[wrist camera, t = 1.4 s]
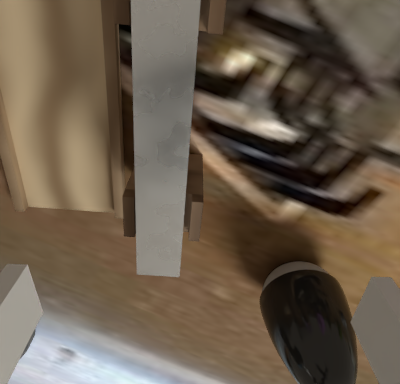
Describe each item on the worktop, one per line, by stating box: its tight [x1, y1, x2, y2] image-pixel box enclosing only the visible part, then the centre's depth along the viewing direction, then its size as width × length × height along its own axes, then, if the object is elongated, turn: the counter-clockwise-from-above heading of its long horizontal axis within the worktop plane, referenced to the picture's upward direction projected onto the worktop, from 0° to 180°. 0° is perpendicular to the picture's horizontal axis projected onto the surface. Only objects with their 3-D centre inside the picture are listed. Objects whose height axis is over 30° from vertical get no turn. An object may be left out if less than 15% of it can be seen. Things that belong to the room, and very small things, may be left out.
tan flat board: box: [0, 0, 125, 219], centre depth 28 cm, size 12×28×1 cm, turn 175°
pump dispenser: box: [260, 261, 358, 384], centre depth 35 cm, size 10×10×15 cm
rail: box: [131, 0, 201, 277], centre depth 21 cm, size 4×24×4 cm, turn 175°
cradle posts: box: [113, 0, 226, 241], centre depth 25 cm, size 6×20×9 cm, turn 175°
